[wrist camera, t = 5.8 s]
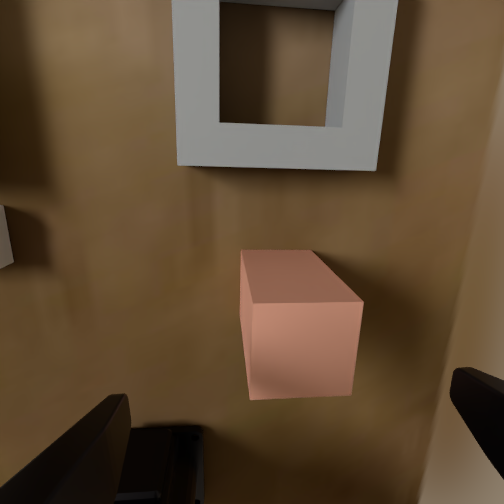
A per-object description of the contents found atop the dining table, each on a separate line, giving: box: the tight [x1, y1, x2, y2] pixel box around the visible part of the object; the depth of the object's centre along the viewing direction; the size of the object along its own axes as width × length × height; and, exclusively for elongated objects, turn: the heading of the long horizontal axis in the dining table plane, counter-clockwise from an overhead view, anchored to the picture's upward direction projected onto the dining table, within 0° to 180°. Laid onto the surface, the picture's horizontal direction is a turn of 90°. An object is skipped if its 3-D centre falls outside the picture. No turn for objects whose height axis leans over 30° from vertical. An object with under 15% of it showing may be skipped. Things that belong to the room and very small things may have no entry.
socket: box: [172, 0, 398, 171], centre depth 14 cm, size 9×9×2 cm
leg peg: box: [240, 250, 364, 400], centre depth 15 cm, size 4×4×7 cm
